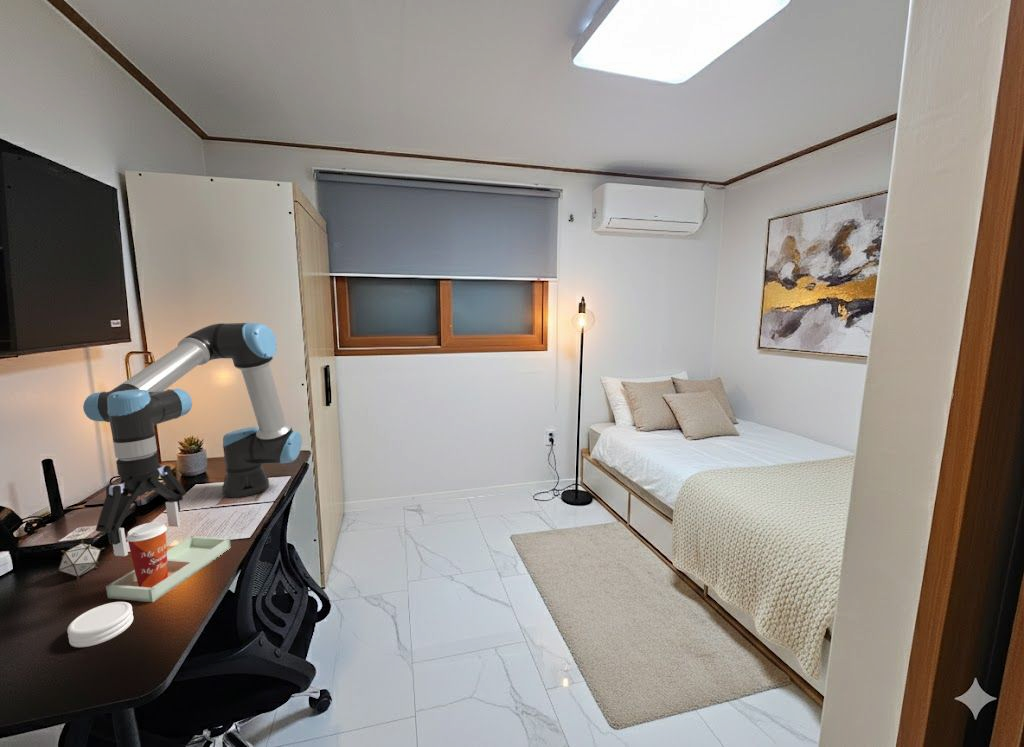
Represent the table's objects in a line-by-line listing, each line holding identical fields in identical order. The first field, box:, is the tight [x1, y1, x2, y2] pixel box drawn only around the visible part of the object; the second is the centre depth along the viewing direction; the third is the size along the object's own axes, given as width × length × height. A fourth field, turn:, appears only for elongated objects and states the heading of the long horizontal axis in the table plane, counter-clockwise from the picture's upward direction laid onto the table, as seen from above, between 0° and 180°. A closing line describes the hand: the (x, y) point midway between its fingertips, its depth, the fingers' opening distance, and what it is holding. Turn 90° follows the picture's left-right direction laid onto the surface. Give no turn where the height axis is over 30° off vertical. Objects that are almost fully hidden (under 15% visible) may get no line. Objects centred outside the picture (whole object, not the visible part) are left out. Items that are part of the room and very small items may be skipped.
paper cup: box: [125, 521, 168, 588], centre depth 107 cm, size 8×8×14 cm
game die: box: [54, 539, 105, 581], centre depth 112 cm, size 9×8×10 cm
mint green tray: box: [105, 535, 232, 603], centre depth 113 cm, size 23×12×3 cm, turn 172°
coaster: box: [66, 601, 134, 648], centre depth 92 cm, size 10×10×4 cm
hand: (149, 539), depth 107 cm, fingers open, 13 cm apart
